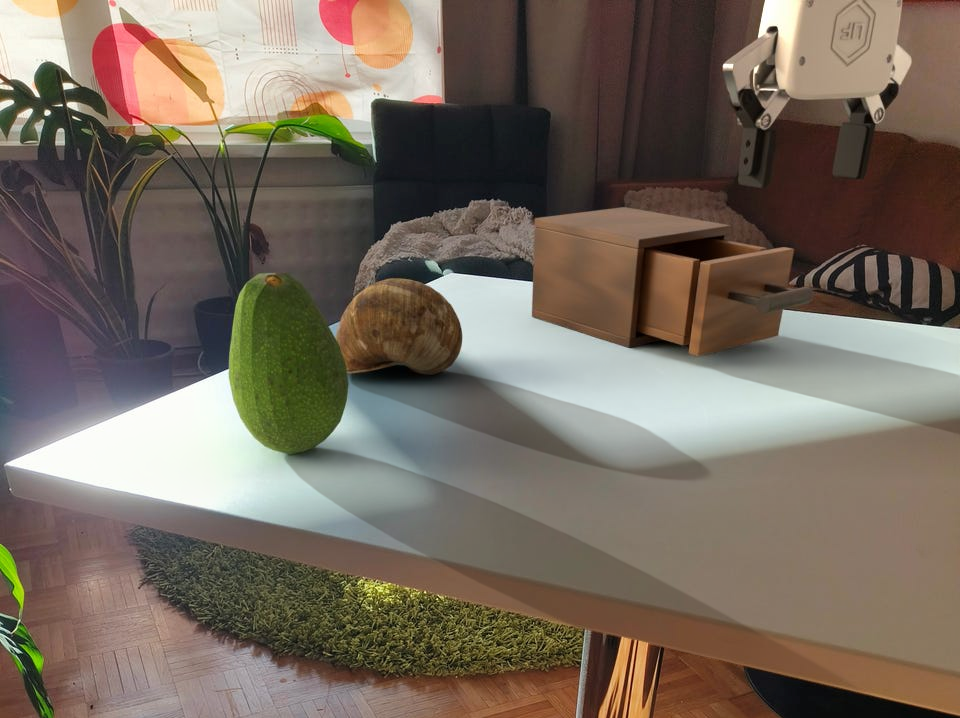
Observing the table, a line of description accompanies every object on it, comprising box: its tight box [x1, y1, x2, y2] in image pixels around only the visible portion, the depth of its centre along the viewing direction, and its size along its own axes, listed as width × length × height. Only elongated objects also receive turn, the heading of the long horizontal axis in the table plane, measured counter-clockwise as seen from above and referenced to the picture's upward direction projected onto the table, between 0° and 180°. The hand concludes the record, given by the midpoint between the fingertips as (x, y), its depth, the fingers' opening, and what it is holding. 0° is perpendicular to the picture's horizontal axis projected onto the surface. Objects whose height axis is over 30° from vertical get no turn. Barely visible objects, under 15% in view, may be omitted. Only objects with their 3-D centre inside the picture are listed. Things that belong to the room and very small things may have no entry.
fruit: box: [228, 272, 349, 455], centre depth 60 cm, size 8×8×12 cm
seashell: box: [335, 277, 463, 376], centre depth 76 cm, size 11×9×8 cm
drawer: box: [636, 237, 814, 357], centre depth 83 cm, size 18×11×8 cm, turn 37°
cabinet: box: [531, 206, 732, 348], centre depth 90 cm, size 15×13×10 cm
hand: (801, 181), depth 73 cm, fingers open, 9 cm apart
